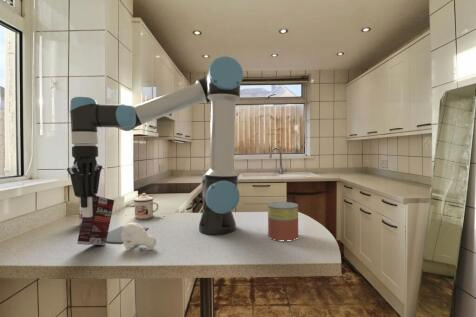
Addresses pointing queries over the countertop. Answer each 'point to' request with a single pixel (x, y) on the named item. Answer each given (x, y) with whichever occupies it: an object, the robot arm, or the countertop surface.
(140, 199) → the teacup with lid
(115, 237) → the mat
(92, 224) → the supplement box
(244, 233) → the countertop surface
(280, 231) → the canned food
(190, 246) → the countertop surface
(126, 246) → the white irregular piece
